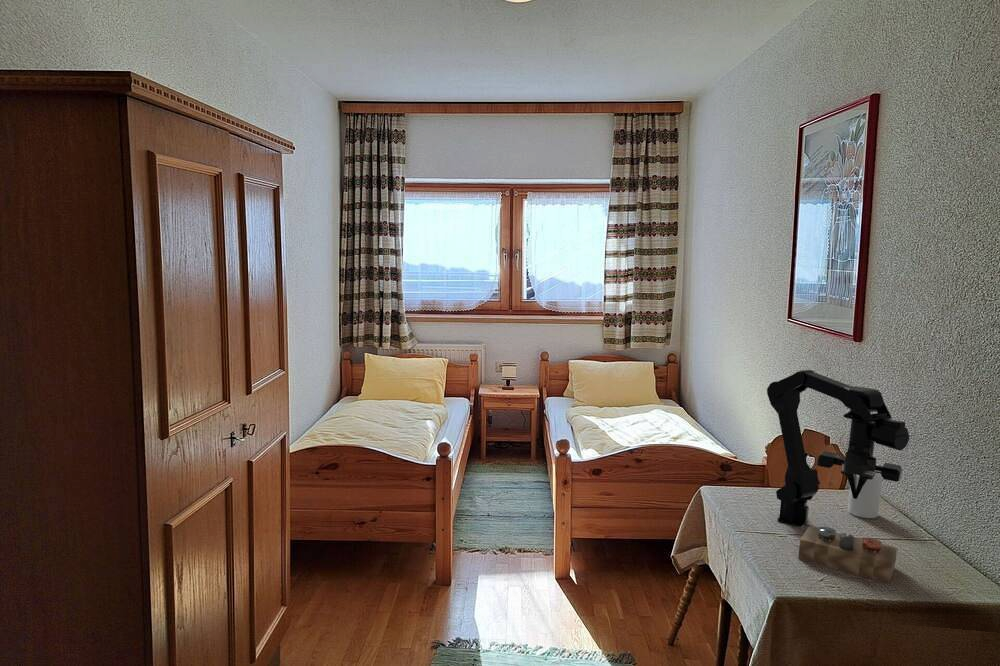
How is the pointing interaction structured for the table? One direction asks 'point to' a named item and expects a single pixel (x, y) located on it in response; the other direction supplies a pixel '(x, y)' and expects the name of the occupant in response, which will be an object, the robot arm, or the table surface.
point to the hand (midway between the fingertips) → (855, 498)
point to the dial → (846, 541)
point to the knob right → (871, 544)
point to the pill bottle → (866, 498)
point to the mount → (848, 556)
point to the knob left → (826, 533)
